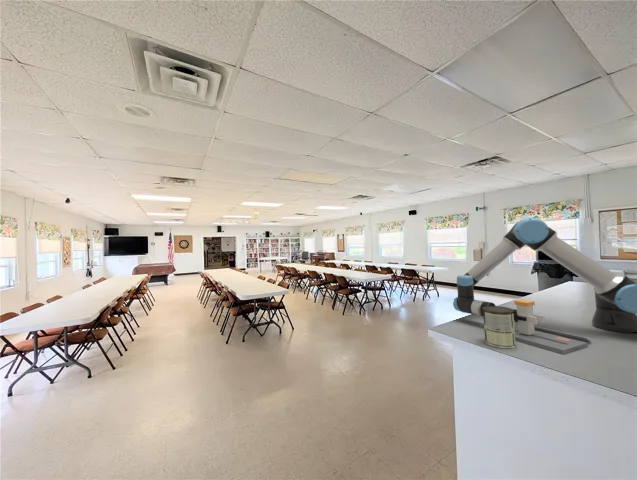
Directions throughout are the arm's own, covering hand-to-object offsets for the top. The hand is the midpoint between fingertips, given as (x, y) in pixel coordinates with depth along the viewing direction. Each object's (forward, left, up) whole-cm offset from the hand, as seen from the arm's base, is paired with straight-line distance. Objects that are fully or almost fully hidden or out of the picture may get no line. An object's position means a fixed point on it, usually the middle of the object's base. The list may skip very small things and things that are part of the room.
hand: (540, 320), depth 105 cm
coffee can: (+16, +6, -9) cm, 20 cm away
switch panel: (+1, -2, -9) cm, 9 cm away
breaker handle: (+3, -4, -7) cm, 9 cm away
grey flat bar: (-8, -9, -9) cm, 15 cm away
